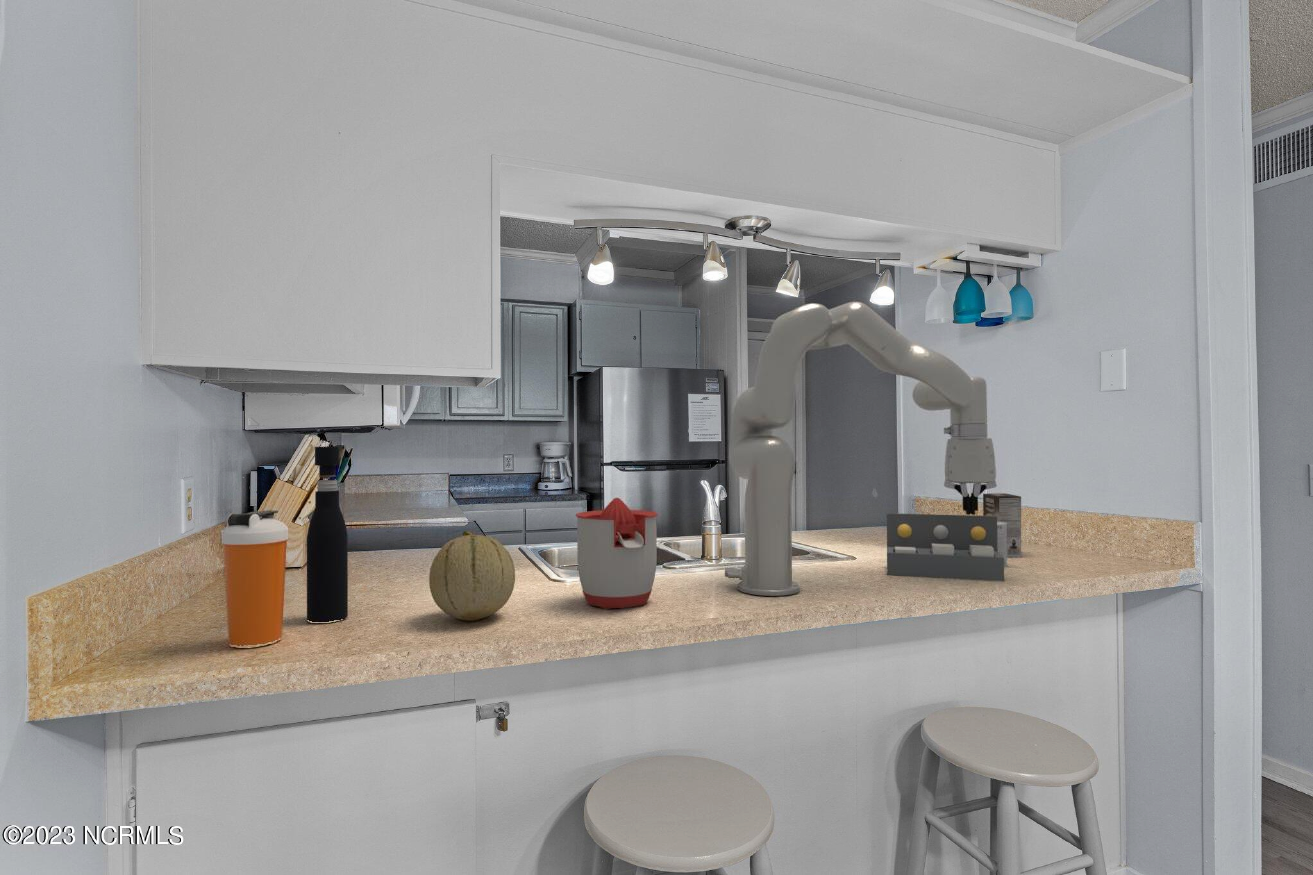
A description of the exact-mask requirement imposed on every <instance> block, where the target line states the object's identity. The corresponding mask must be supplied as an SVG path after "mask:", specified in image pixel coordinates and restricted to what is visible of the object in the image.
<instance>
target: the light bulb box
mask: <svg viewBox="0 0 1313 875" xmlns="http://www.w3.org/2000/svg"><path fill="white" fill-rule="evenodd" d="M997 550H998V552H999V553H1000V554H1001V555H1002V556H1003V557H1004V569H1007V567H1008V562H1007V561H1008V557H1007V523H1003V522H997Z"/></svg>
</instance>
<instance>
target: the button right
mask: <svg viewBox="0 0 1313 875" xmlns="http://www.w3.org/2000/svg"><path fill="white" fill-rule="evenodd" d="M970 556H988V557H994V548H993V547H992V546H983V545H970Z"/></svg>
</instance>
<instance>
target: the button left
mask: <svg viewBox="0 0 1313 875" xmlns="http://www.w3.org/2000/svg"><path fill="white" fill-rule="evenodd" d="M895 553H916V549H915V547H895Z"/></svg>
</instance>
